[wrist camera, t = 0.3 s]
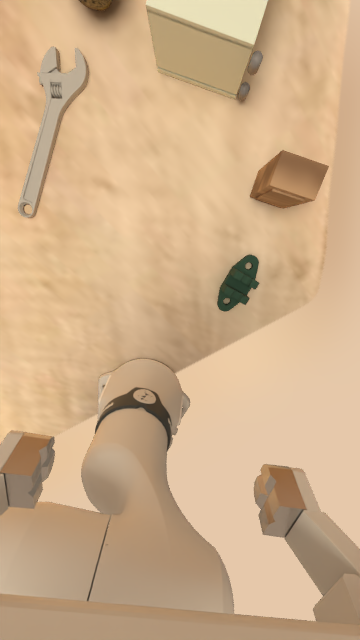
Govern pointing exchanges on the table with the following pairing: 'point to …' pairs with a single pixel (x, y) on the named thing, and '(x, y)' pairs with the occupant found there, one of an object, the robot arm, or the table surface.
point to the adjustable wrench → (51, 120)
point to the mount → (238, 283)
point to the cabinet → (207, 41)
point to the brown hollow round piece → (97, 4)
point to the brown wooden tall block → (288, 180)
